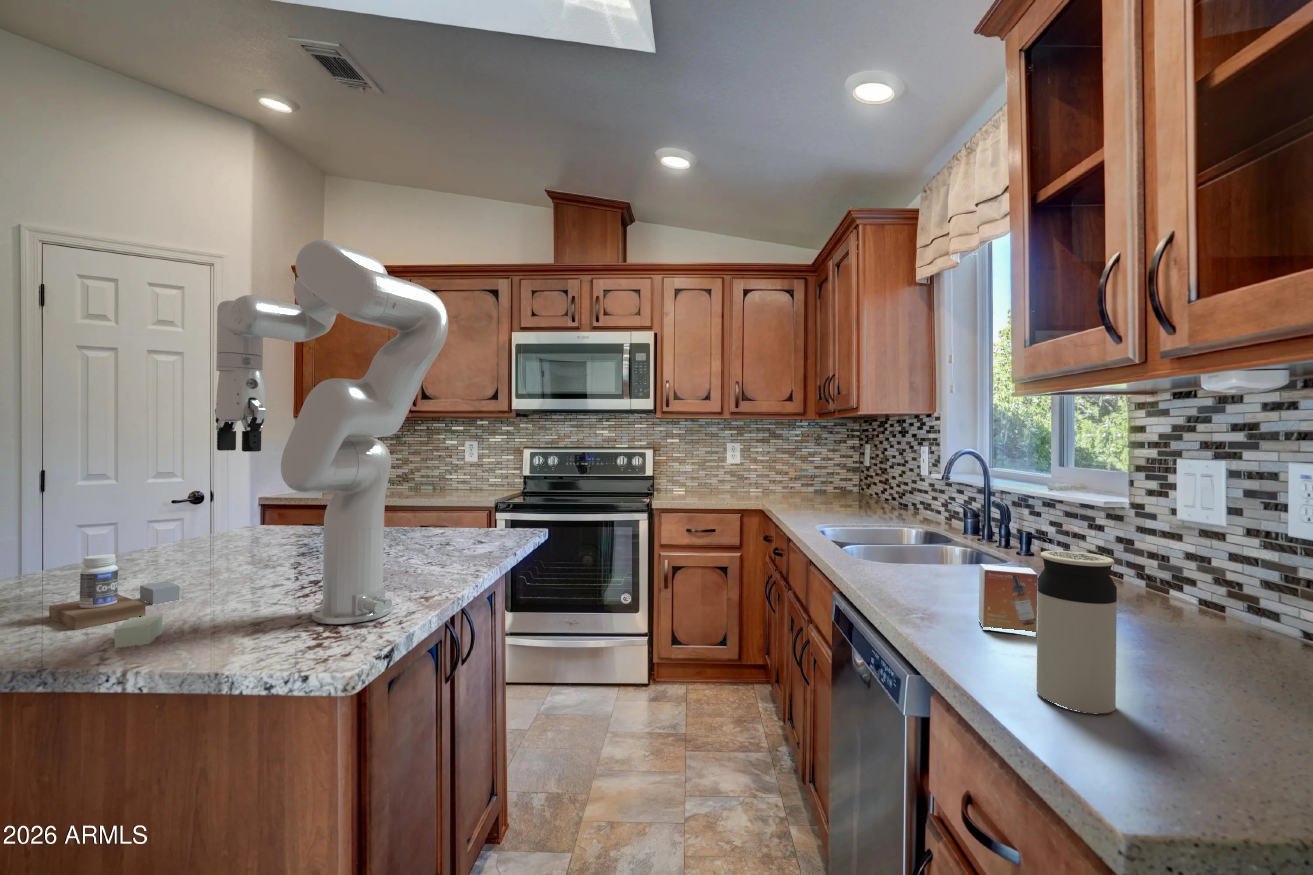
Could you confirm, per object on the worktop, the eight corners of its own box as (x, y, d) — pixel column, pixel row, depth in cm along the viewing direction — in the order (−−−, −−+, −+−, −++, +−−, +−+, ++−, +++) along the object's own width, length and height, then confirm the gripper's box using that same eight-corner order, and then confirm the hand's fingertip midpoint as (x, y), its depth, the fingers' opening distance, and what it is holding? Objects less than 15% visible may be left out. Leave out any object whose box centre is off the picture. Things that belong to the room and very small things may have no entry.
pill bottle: (99, 609, 99) (99, 558, 99) (71, 608, 99) (72, 558, 99) (125, 601, 104) (125, 553, 104) (98, 600, 104) (99, 553, 104)
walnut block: (145, 615, 102) (145, 603, 102) (74, 629, 94) (75, 617, 94) (117, 604, 108) (117, 593, 108) (49, 617, 100) (49, 605, 100)
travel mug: (1089, 721, 68) (1090, 564, 68) (1022, 693, 75) (1023, 552, 75) (1130, 709, 71) (1132, 559, 71) (1062, 683, 78) (1063, 548, 78)
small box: (982, 631, 100) (983, 569, 100) (978, 622, 105) (978, 562, 105) (1037, 638, 97) (1038, 573, 97) (1030, 628, 102) (1031, 567, 102)
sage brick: (149, 645, 88) (149, 625, 89) (114, 649, 87) (114, 629, 87) (162, 633, 94) (162, 614, 94) (129, 636, 92) (130, 617, 92)
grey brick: (179, 601, 112) (179, 585, 112) (153, 606, 108) (153, 589, 108) (165, 596, 115) (166, 581, 115) (139, 601, 112) (140, 585, 112)
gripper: (283, 364, 116) (282, 451, 116) (238, 369, 125) (237, 449, 125) (241, 360, 110) (239, 452, 110) (197, 364, 118) (195, 450, 118)
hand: (238, 450), depth 117 cm, fingers open, 9 cm apart
